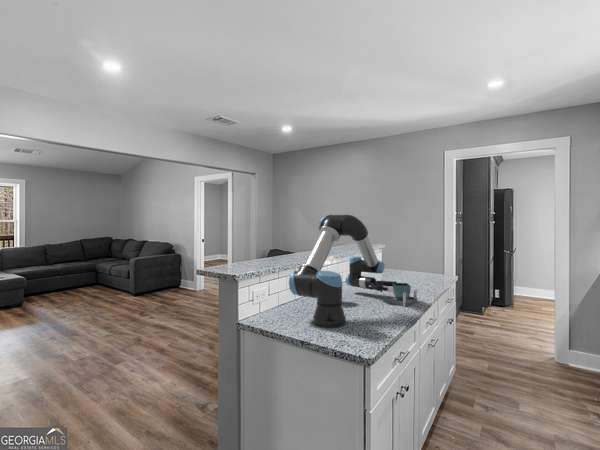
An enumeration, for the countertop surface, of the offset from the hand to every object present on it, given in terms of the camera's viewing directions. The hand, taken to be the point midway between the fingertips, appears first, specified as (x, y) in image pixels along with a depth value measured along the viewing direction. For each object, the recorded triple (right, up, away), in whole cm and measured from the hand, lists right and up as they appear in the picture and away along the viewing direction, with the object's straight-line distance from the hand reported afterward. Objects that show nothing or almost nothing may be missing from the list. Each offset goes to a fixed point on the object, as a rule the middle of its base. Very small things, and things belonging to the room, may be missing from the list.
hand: (399, 288), depth 187 cm
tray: (+1, -8, -1) cm, 8 cm away
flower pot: (+1, -7, -1) cm, 7 cm away
